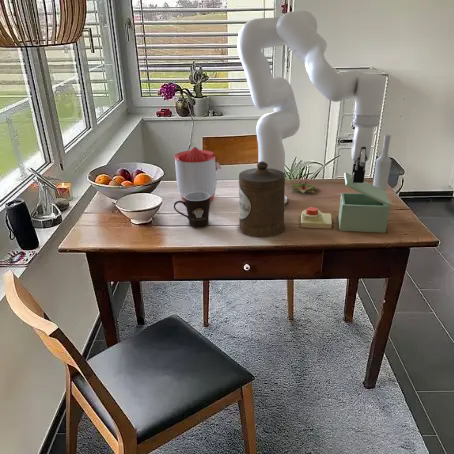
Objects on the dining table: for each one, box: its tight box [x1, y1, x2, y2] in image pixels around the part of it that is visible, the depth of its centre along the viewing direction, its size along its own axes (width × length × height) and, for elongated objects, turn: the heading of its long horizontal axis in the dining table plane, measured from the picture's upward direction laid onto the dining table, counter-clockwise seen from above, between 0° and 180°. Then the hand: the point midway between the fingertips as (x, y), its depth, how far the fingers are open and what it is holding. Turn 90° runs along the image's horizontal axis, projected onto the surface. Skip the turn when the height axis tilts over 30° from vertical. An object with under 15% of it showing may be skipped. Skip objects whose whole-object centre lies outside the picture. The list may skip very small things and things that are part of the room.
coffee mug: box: [173, 192, 211, 229], centre depth 159 cm, size 12×9×10 cm
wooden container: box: [238, 161, 286, 238], centre depth 152 cm, size 15×15×22 cm
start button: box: [306, 206, 319, 215], centre depth 159 cm, size 4×4×2 cm
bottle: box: [372, 133, 392, 192], centre depth 166 cm, size 5×5×25 cm
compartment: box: [337, 192, 391, 234], centre depth 156 cm, size 15×12×9 cm
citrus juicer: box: [173, 146, 223, 202], centre depth 176 cm, size 16×17×20 cm
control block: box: [300, 209, 333, 229], centre depth 160 cm, size 10×9×4 cm
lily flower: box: [289, 178, 318, 194], centre depth 187 cm, size 12×12×5 cm
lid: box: [343, 166, 392, 207], centre depth 151 cm, size 16×12×5 cm
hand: (357, 178), depth 151 cm, fingers closed on lid, 5 cm apart
